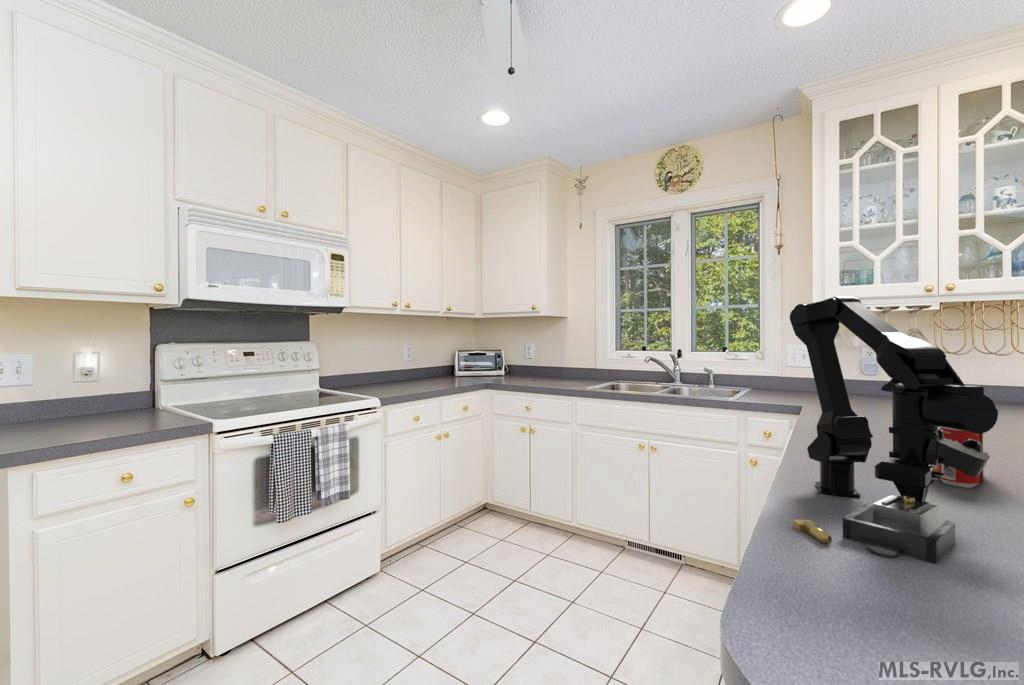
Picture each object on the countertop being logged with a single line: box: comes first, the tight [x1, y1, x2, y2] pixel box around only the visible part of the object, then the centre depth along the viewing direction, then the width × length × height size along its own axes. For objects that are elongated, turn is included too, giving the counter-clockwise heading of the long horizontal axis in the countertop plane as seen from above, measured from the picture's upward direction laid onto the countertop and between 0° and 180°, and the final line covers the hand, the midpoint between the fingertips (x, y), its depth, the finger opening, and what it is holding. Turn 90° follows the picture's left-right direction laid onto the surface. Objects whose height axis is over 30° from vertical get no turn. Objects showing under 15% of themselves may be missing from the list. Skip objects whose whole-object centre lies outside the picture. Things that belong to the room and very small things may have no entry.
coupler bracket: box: [842, 502, 956, 564], centre depth 71 cm, size 14×11×3 cm
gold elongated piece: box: [792, 519, 833, 546], centre depth 74 cm, size 7×3×2 cm, turn 176°
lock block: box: [872, 494, 939, 537], centre depth 74 cm, size 7×6×6 cm
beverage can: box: [938, 427, 981, 489], centre depth 98 cm, size 6×6×12 cm
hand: (915, 515), depth 77 cm, fingers closed
